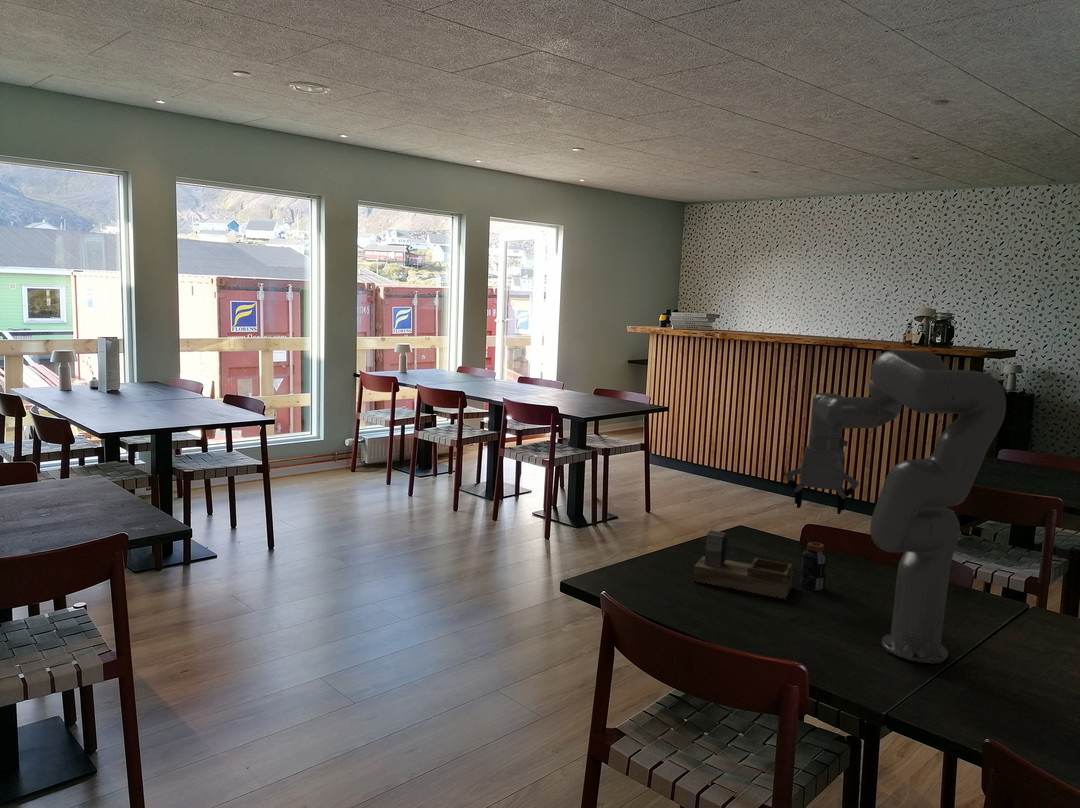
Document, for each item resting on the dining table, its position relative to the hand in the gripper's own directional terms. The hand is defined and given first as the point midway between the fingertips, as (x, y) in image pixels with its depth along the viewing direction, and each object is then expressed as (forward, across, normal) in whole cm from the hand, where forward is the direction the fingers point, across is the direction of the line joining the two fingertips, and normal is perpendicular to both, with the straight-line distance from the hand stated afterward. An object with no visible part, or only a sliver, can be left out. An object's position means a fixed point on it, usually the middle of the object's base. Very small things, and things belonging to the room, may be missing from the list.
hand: (818, 509), depth 197 cm
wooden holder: (+20, +16, +8) cm, 27 cm away
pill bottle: (+20, 0, 0) cm, 20 cm away
